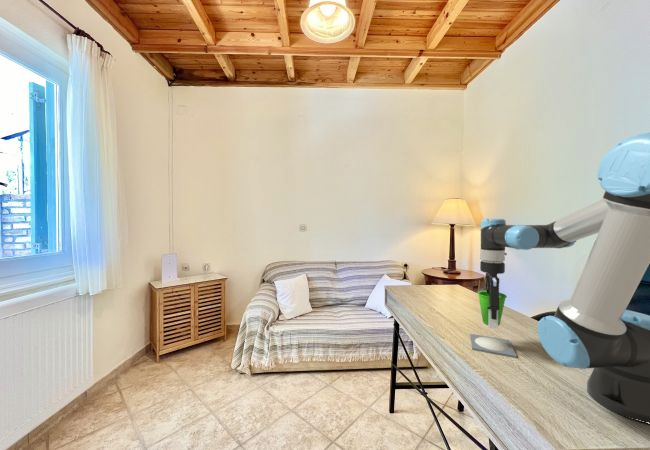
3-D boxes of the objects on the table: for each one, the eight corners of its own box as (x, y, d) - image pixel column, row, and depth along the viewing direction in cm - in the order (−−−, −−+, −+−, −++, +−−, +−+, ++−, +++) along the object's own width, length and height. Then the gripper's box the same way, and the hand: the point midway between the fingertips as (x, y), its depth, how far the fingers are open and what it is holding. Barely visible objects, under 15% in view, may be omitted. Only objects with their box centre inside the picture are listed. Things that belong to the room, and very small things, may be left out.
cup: (511, 330, 91) (511, 298, 91) (482, 328, 93) (482, 297, 93) (499, 320, 100) (500, 291, 100) (473, 318, 102) (473, 290, 102)
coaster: (516, 357, 88) (516, 355, 88) (472, 349, 94) (472, 347, 94) (509, 341, 100) (509, 339, 100) (469, 335, 105) (469, 333, 105)
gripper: (510, 267, 85) (509, 336, 85) (499, 257, 104) (498, 314, 105) (483, 265, 88) (482, 332, 88) (477, 256, 107) (476, 311, 108)
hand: (491, 322), depth 97 cm, fingers closed on cup, 9 cm apart
